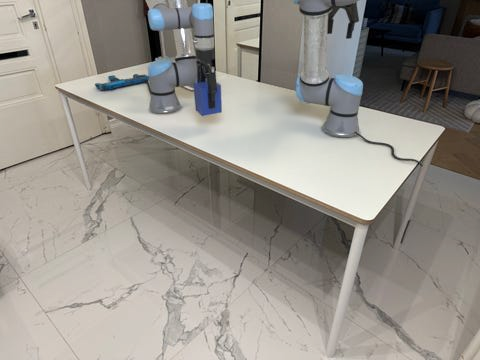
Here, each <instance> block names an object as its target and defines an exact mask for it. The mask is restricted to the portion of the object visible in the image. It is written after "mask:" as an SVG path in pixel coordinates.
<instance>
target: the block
mask: <svg viewBox="0 0 480 360" xmlns="http://www.w3.org/2000/svg"><path fill="white" fill-rule="evenodd" d="M218 83H219V82H218ZM218 83H217V92H215V108H210V109H209V104H208V93H207V92H209V90H208V85H207V81H206V82H200V83H193V84H194V90H193V95H194V97H193V98H194V109H195V111H196V112H197V113H198V114H199V115H200V116H202V117H205V116H210V115H215V114H216V115H217V114H221V113H223V111H222V110H223V109H222V105H223V104H222V85H221V84H220V83H219V84H218Z"/></svg>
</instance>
